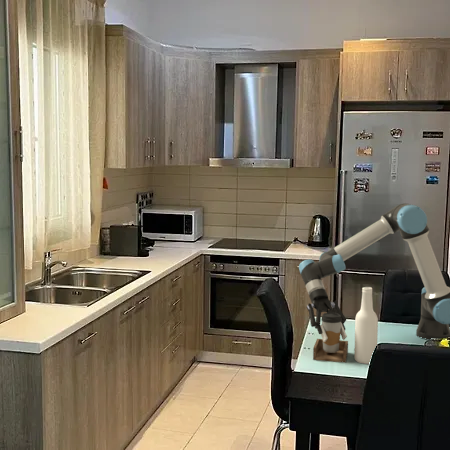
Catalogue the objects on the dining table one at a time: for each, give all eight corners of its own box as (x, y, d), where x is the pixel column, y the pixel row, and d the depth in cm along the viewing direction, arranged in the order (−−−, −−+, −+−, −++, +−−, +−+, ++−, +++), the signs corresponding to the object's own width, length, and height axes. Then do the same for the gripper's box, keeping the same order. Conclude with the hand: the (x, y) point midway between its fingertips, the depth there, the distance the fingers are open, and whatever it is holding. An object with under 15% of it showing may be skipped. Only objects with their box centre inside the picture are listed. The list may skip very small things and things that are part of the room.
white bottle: (378, 359, 241) (380, 286, 238) (374, 365, 234) (376, 291, 230) (357, 356, 245) (359, 284, 242) (352, 362, 237) (353, 288, 234)
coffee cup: (342, 348, 248) (343, 313, 246) (339, 354, 240) (340, 318, 238) (322, 346, 250) (323, 311, 249) (319, 352, 242) (319, 316, 241)
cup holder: (347, 352, 250) (348, 341, 249) (345, 362, 237) (345, 350, 237) (316, 349, 253) (317, 338, 253) (313, 359, 241) (313, 347, 240)
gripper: (335, 295, 261) (354, 341, 248) (292, 299, 254) (309, 346, 241) (341, 285, 255) (361, 332, 242) (297, 289, 248) (315, 337, 235)
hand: (335, 339), depth 241 cm, fingers closed on coffee cup, 8 cm apart
